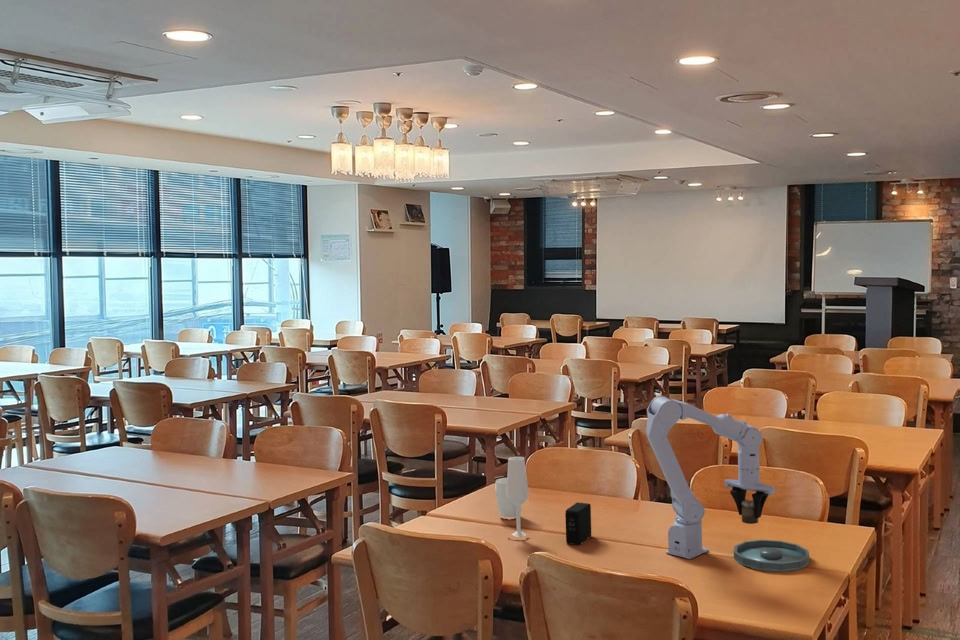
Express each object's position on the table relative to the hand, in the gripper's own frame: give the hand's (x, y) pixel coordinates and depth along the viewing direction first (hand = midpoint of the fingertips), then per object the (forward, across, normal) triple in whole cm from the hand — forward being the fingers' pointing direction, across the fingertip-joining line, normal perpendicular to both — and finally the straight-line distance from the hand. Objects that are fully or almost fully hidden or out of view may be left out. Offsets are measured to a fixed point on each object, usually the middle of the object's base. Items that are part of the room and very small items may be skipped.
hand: (749, 515), depth 253 cm
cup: (+9, +73, +23) cm, 77 cm away
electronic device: (+9, +41, +26) cm, 49 cm away
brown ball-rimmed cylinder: (+2, 0, 0) cm, 2 cm away
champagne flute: (+9, +56, +36) cm, 67 cm away
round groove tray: (+9, -9, +6) cm, 14 cm away
